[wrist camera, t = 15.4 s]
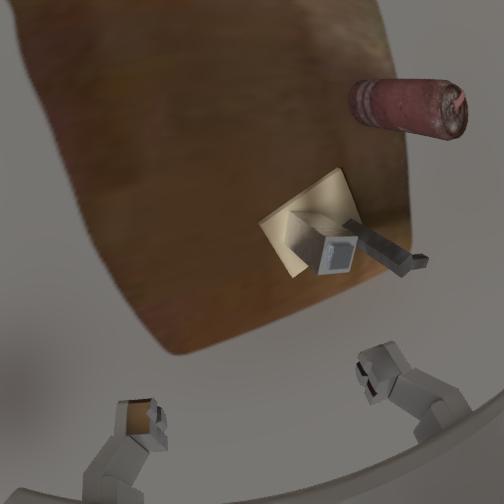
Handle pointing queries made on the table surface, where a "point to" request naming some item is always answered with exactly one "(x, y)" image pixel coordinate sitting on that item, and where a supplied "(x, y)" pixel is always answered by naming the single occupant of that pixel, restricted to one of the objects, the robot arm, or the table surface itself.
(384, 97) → the can
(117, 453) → the robot arm
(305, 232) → the grey square pillar
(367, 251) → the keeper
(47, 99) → the table surface
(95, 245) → the table surface
